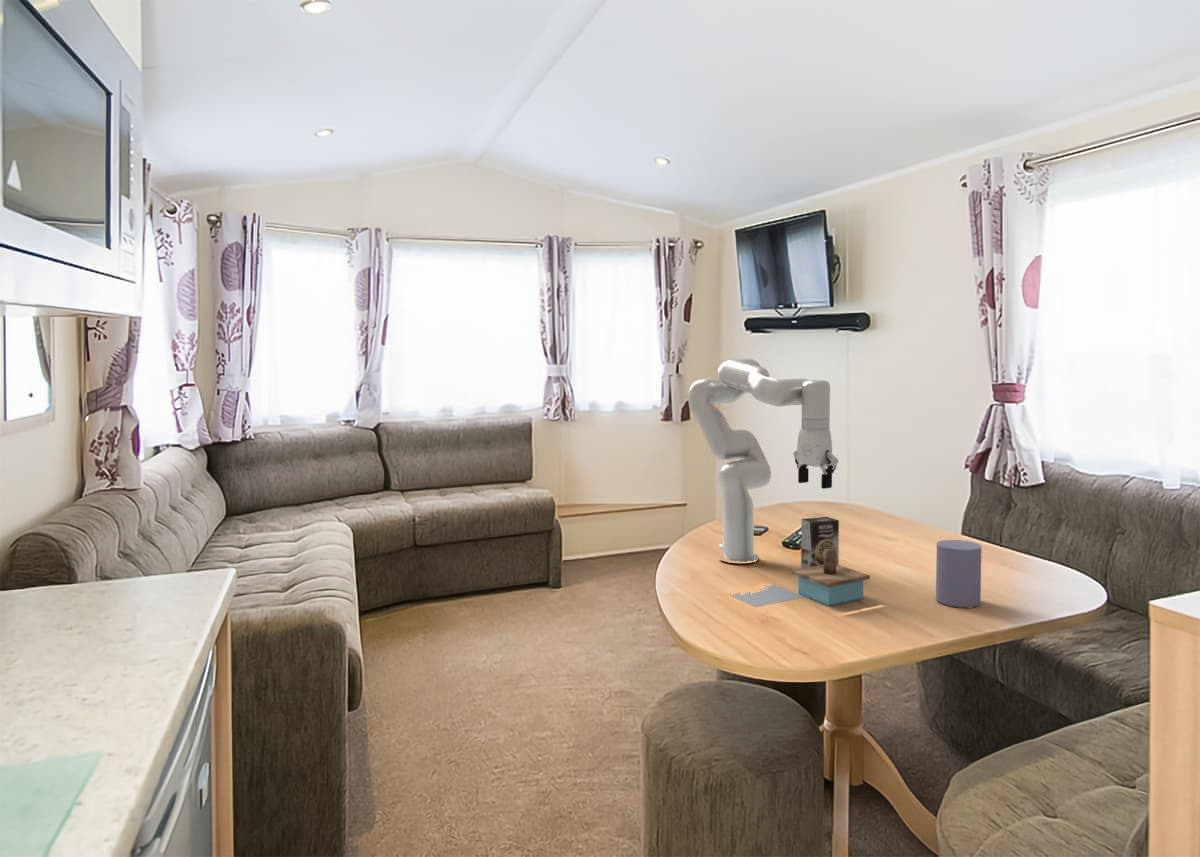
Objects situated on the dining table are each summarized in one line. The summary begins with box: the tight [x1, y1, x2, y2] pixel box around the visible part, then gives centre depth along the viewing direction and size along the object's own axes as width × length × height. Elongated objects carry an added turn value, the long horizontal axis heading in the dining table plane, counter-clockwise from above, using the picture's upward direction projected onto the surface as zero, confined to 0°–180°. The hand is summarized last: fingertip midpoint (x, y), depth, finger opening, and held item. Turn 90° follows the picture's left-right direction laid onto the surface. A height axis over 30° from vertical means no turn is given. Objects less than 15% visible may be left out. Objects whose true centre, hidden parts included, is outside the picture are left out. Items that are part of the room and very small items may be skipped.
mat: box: [729, 583, 805, 608], centre depth 203 cm, size 16×16×1 cm
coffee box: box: [800, 516, 840, 568], centre depth 223 cm, size 9×6×16 cm
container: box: [935, 539, 982, 608], centre depth 193 cm, size 10×10×15 cm
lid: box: [790, 549, 871, 587], centre depth 199 cm, size 14×14×7 cm
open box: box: [797, 576, 864, 607], centre depth 199 cm, size 12×12×6 cm
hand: (814, 485), depth 212 cm, fingers open, 9 cm apart
